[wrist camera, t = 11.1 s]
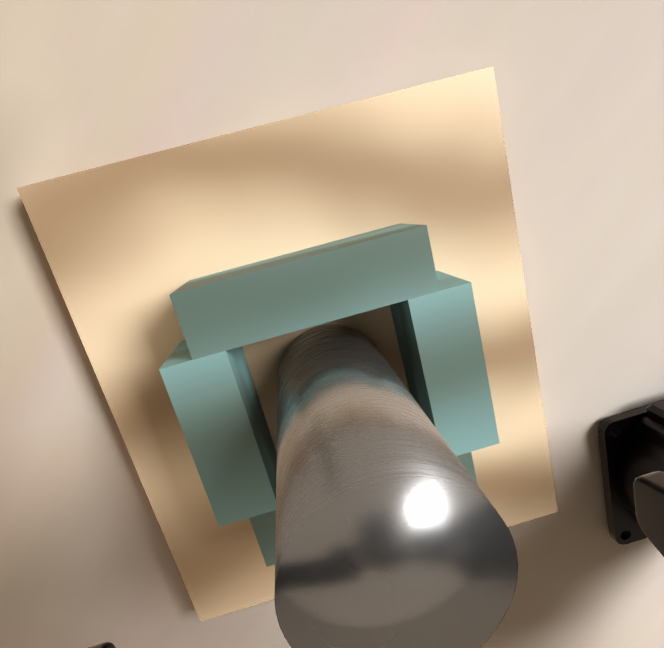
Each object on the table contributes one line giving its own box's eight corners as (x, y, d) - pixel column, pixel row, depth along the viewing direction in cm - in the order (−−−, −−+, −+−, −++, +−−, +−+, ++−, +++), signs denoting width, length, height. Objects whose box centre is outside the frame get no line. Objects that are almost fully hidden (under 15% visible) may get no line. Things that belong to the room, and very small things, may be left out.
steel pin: (393, 408, 17) (533, 645, 8) (294, 436, 17) (312, 715, 8) (370, 311, 16) (497, 445, 7) (264, 341, 16) (242, 521, 7)
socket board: (544, 498, 21) (606, 563, 17) (204, 602, 20) (185, 695, 16) (480, 75, 16) (544, 30, 12) (33, 190, 15) (-51, 180, 11)
